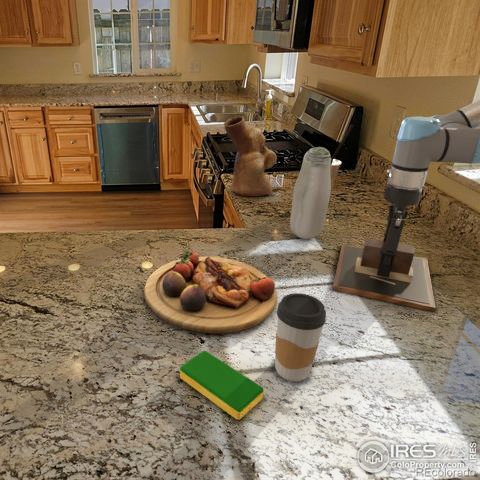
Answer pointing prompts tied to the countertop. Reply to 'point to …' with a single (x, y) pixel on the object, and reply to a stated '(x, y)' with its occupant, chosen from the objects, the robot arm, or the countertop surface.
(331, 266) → the countertop surface
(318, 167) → the glass bottle
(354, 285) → the chalkboard
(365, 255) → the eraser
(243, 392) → the dish sponge
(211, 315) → the wooden plate
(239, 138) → the ceramic vessel
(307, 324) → the coffee cup
